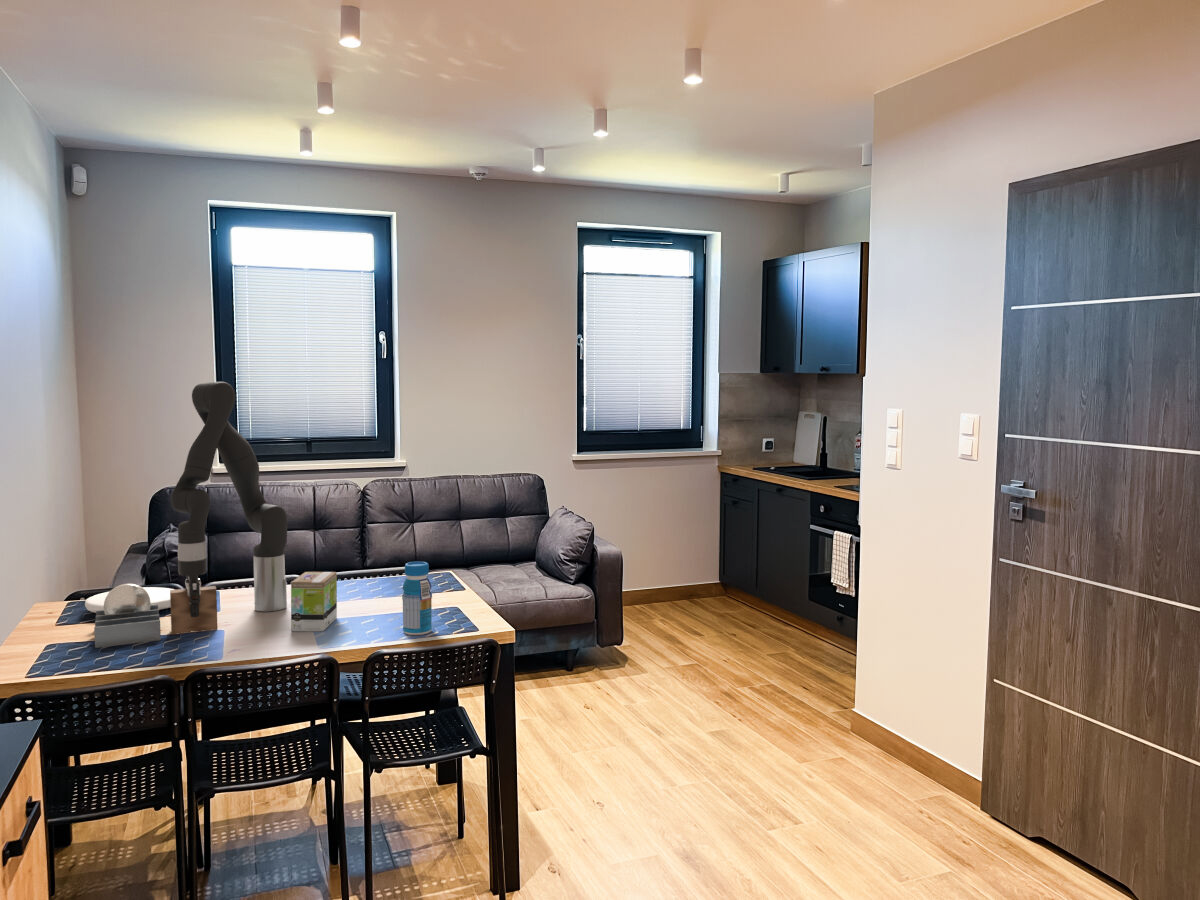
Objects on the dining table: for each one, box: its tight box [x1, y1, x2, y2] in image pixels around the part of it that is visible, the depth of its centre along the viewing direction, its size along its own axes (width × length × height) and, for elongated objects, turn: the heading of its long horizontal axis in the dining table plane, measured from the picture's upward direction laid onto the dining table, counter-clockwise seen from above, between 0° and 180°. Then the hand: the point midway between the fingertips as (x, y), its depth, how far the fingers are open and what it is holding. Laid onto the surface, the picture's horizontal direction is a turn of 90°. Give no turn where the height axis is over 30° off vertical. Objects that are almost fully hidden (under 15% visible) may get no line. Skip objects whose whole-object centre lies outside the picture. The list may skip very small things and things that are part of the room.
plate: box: [84, 586, 175, 614], centre depth 283 cm, size 28×6×27 cm
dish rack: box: [93, 583, 162, 649], centre depth 254 cm, size 16×20×13 cm
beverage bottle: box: [401, 561, 433, 636], centre depth 258 cm, size 8×8×20 cm
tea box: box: [290, 571, 338, 632], centre depth 265 cm, size 15×10×15 cm, turn 3°
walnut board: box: [170, 585, 218, 635], centre depth 260 cm, size 12×4×12 cm, turn 118°
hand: (194, 613), depth 260 cm, fingers open, 7 cm apart
